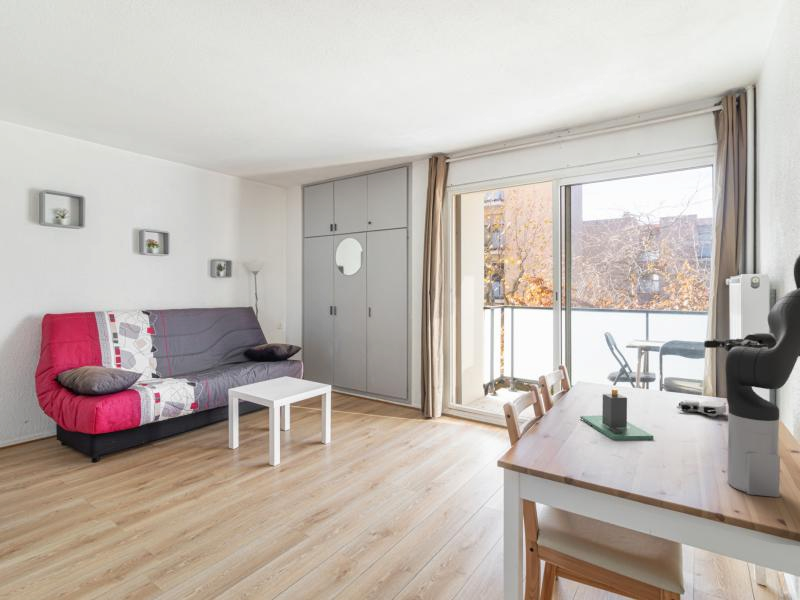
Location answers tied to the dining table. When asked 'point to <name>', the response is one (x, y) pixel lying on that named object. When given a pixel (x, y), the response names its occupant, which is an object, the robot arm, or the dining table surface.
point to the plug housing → (614, 410)
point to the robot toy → (703, 407)
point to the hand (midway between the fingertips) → (715, 345)
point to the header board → (617, 430)
